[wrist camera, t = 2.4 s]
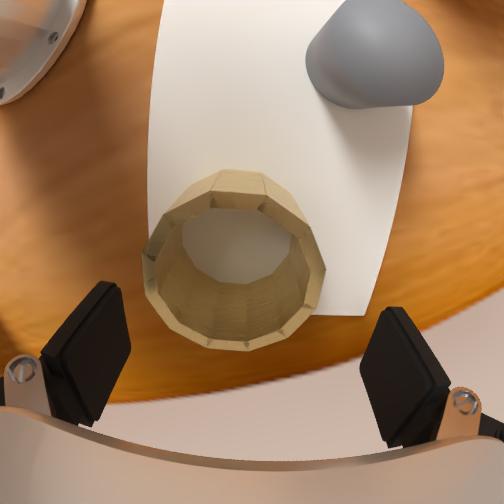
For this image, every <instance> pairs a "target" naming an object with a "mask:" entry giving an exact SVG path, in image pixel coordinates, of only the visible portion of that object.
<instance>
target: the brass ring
mask: <svg viewBox="0 0 504 504" xmlns="http://www.w3.org/2000/svg"><path fill="white" fill-rule="evenodd" d="M212 208H225V209H238V210H251V211H260V212H262V213H263V214H265V215H266V216H268V217H269V218H271V219H272V220H274V221H275V222H277V223H278V224H279V225H281V226H282V227H284V228H285V229H287V230H288V231H290V232H291V233H292V236H291V243H290V249H289V254H288V255H287V256H286V258H285V259H284V260H283V261H282V262H281V264H280V265H279V266H278V267H277V268H276V270H275V271H274V272H273V273H272V274H271V275H268V276H266V277H263V278H261V279H258V280H256V281H253V282H251V283H248V284H237V283H225V282H218V281H217V280H215V279H213V278H212V277H210V276H208V275H207V274H205V273H203V272H202V271H200V270H198V269H197V268H196V267H195V265H194V264H193V262H192V260H191V259H190V257H189V255H188V254H187V252H186V250H185V249H184V247H183V245H182V223H183V222H185V221H187V220H189V219H191V218H193V217H195V216H197V215H199V214H202V213H204V212H206V211H208V210H210V209H212ZM141 260H142V270H143V280H144V289H145V295H146V297H147V299H148V300H149V302H150V303H151V304H152V306H153V307H154V309H155V310H156V311H157V313H158V314H159V315H160V317H161V318H162V319H163V321H164V322H165V323H166V325H167V326H168V327H169V328H170V329H171V330H173V331H175V332H177V333H178V334H180V335H182V336H184V337H186V338H188V339H190V340H192V341H194V342H196V343H198V344H200V345H202V346H203V347H205V348H211V349H222V350H236V351H251V350H254V349H257V348H260V347H263V346H266V345H269V344H272V343H275V342H278V341H281V340H283V339H286V338H288V337H289V336H290V335H291V334H292V333H293V332H294V331H295V330H296V329H297V328H298V327H299V326H300V325H301V324H302V323H303V322H304V321H305V320H306V319H307V318H308V317H309V316H310V315H311V314H312V313H313V312H314V311H315V310H316V309H317V305H318V301H319V297H320V293H321V289H322V285H323V281H324V277H325V273H326V266H325V264H324V261H323V258H322V256H321V253H320V250H319V248H318V245H317V243H316V240H315V237H314V235H313V232H312V230H311V227H310V225H309V224H308V222H307V220H306V218H305V217H304V215H303V213H302V211H301V210H300V208H299V206H298V205H297V203H296V201H295V200H294V198H293V196H292V195H291V193H290V192H288V191H287V190H285V189H284V188H283V187H281V186H280V185H278V184H277V183H276V182H274V181H273V180H271V179H270V178H269V177H267V176H266V175H264V174H263V173H261V172H255V171H243V170H230V169H222V170H220V171H218V172H216V173H214V174H211V175H209V176H207V177H205V178H203V179H201V180H199V181H197V182H195V183H193V184H192V185H190V186H189V187H188V188H187V189H186V190H185V191H184V192H183V193H182V194H181V195H180V196H179V197H178V199H177V200H176V201H175V202H174V203H173V204H172V205H171V206H170V207H169V208H168V210H167V211H166V212H165V213H164V214H163V215H162V217H161V219H160V221H159V222H158V224H157V226H156V228H155V229H154V231H153V233H152V235H151V237H150V239H149V240H148V242H147V244H146V246H145V248H144V250H143V252H142V253H141Z"/></svg>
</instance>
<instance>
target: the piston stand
mask: <svg viewBox="0 0 504 504" xmlns="http://www.w3.org/2000/svg"><path fill="white" fill-rule="evenodd" d="M443 74H444V59H443V53H442V49H441V46H440V43H439V41H438V39H437V37H436V35H435V33H434V31H433V30H432V28H431V27H430V25H429V24H428V23H427V22H426V20H425V19H424V18H423V17H422V16H421V15H420V14H419V13H418V12H417V11H416V10H414V9H413V8H412V7H410V6H409V5H408V4H406V3H404V2H402V1H401V0H164V5H163V10H162V16H161V21H160V27H159V33H158V40H157V46H156V54H155V61H154V70H153V79H152V89H151V101H150V115H149V133H148V166H147V195H148V229H149V239H150V237H151V235H152V233H153V231H154V229H155V228H156V226H157V224H158V222H159V221H160V219H161V217H162V215H163V214H164V213H165V212H166V211H167V210H168V208H169V207H170V206H171V205H172V204H173V203H174V202H175V201H176V200H177V199H178V197H179V196H180V195H181V194H182V193H183V192H184V191H185V190H186V189H187V188H188V187H189V186H190V185H192V184H193V183H195V182H197V181H199V180H201V179H203V178H205V177H207V176H209V175H211V174H214V173H216V172H218V171H220V170H222V169H230V170H243V171H255V172H261V173H263V174H264V175H266V176H267V177H269V178H270V179H271V180H273V181H274V182H276V183H277V184H278V185H280V186H281V187H283V188H284V189H285V190H287V191H288V192H290V193H291V195H292V196H293V198H294V200H295V201H296V203H297V205H298V206H299V208H300V210H301V211H302V213H303V215H304V217H305V218H306V220H307V222H308V224H309V225H310V227H311V230H312V232H313V235H314V237H315V240H316V243H317V245H318V248H319V250H320V253H321V256H322V258H323V261H324V264H325V266H326V273H325V277H324V281H323V285H322V289H321V293H320V297H319V301H318V305H317V309H316V310H315V311H314V312H313V313H312V314H311V315H345V316H364V315H365V312H366V309H367V307H368V304H369V301H370V298H371V295H372V292H373V289H374V286H375V283H376V280H377V277H378V273H379V270H380V267H381V264H382V260H383V257H384V253H385V250H386V246H387V242H388V239H389V235H390V231H391V227H392V223H393V219H394V215H395V211H396V206H397V202H398V197H399V192H400V188H401V183H402V177H403V172H404V166H405V161H406V154H407V148H408V141H409V134H410V126H411V118H412V108H413V105H417V104H420V103H423V102H425V101H427V100H428V99H430V98H431V97H432V96H433V95H434V94H435V93H436V91H437V90H438V88H439V87H440V84H441V82H442V79H443ZM291 236H292V233H291V232H290V231H288V230H287V229H285V228H284V227H282V226H281V225H279V224H278V223H277V222H275V221H274V220H272V219H271V218H269V217H268V216H266V215H265V214H263V213H262V212H260V211H251V210H238V209H225V208H212V209H210V210H208V211H206V212H204V213H202V214H199V215H197V216H195V217H193V218H191V219H189V220H187V221H185V222H183V223H182V245H183V247H184V249H185V250H186V252H187V254H188V255H189V257H190V259H191V260H192V262H193V264H194V265H195V267H196V268H197V269H198V270H200V271H202V272H203V273H205V274H207V275H208V276H210V277H212V278H213V279H215V280H217V281H218V282H225V283H237V284H248V283H251V282H253V281H256V280H258V279H261V278H263V277H266V276H268V275H271V274H272V273H273V272H274V271H275V270H276V268H277V267H278V266H279V265H280V264H281V262H282V261H283V260H284V259H285V258H286V256H287V255H288V254H289V249H290V243H291Z"/></svg>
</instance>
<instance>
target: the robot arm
mask: <svg viewBox="0 0 504 504" xmlns="http://www.w3.org/2000/svg"><path fill="white" fill-rule="evenodd" d="M86 2H87V0H0V105H4V104H8V103H11V102H13V101H15V100H16V99H18V98H20V97H22V96H23V95H24V94H25V93H27V92H28V91H29V90H31V89H32V88H33V87H34V86H35V85H36V84H37V83H38V82H39V81H40V80H41V79H42V78H43V77H44V75H45V74H46V73H47V72H48V70H49V69H50V68H51V67H52V65H53V64H54V63H55V62H56V60H57V59H58V57H59V56H60V54H61V53H62V51H63V50H64V48H65V47H66V45H67V43H68V42H69V40H70V38H71V36H72V35H73V33H74V31H75V29H76V27H77V25H78V23H79V21H80V18H81V16H82V14H83V11H84V8H85V5H86ZM130 351H131V342H130V338H129V333H128V328H127V323H126V317H125V312H124V306H123V300H122V294H121V289H120V288H119V287H117V285H116V284H115V283H113V282H106V281H100V282H98V283H97V285H96V286H95V287H94V288H93V289H92V290H91V291H90V292H89V294H88V295H87V296H86V297H85V298H84V299H83V300H82V301H81V303H80V304H79V305H78V306H77V307H76V308H75V310H74V311H73V312H72V313H71V314H70V316H69V317H68V318H67V319H66V320H65V322H64V323H63V324H62V325H61V326H60V328H59V329H58V330H57V331H56V333H55V334H54V335H53V336H52V338H51V339H50V340H49V341H48V343H47V344H46V345H45V347H44V348H43V349H42V351H41V354H42V355H41V356H40V358H39V359H38V358H37V357H36V356H34V355H31V354H21V355H18V356H16V357H14V358H13V359H11V360H10V361H9V362H8V363H7V365H6V367H5V370H4V377H1V378H0V504H504V423H502V422H500V421H498V420H495V419H493V418H491V417H489V416H487V415H485V414H483V413H481V402H480V399H479V398H478V396H477V395H476V394H475V393H474V392H473V391H471V390H469V389H467V388H464V387H457V388H454V389H452V391H450V390H449V388H448V387H449V386H450V384H451V381H450V380H449V378H448V376H447V375H446V373H445V371H444V370H443V368H442V366H441V365H440V363H439V361H438V360H437V358H436V357H435V355H434V353H433V352H432V350H431V349H430V347H429V346H428V344H427V342H426V341H425V339H424V338H423V336H422V335H421V333H420V332H419V330H418V329H417V327H416V326H415V324H414V323H413V321H412V320H411V319H410V317H409V316H408V314H407V313H406V311H405V310H404V309H403V308H402V307H387V308H386V309H385V310H383V311H382V312H381V314H380V316H379V319H378V322H377V324H376V327H375V329H374V332H373V334H372V337H371V339H370V342H369V344H368V346H367V349H366V351H365V353H364V356H363V358H362V360H361V363H360V374H361V377H362V379H363V382H364V385H365V388H366V391H367V394H368V397H369V400H370V403H371V405H372V409H373V412H374V415H375V418H376V421H377V424H378V428H379V431H380V434H381V437H382V440H383V441H386V443H387V446H388V448H393V447H397V446H401V445H402V446H403V448H402V449H397V450H392V451H387V452H382V453H375V454H370V455H363V456H355V457H347V458H338V459H327V460H313V461H276V462H274V461H245V460H232V459H221V458H211V457H203V456H196V455H189V454H183V453H177V452H171V451H166V450H161V449H156V448H151V447H147V446H143V445H139V444H135V443H131V442H127V441H124V440H120V439H117V438H113V437H110V436H106V435H103V434H100V433H97V432H94V431H90V430H87V429H84V428H81V427H79V426H78V424H79V423H80V424H83V425H85V426H88V427H92V425H93V423H94V421H98V420H99V419H100V416H101V414H102V412H103V410H104V407H105V405H106V403H107V401H108V399H109V396H110V394H111V392H112V390H113V388H114V386H115V383H116V381H117V379H118V377H119V375H120V373H121V371H122V369H123V367H124V364H125V362H126V360H127V358H128V356H129V354H130Z"/></svg>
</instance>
